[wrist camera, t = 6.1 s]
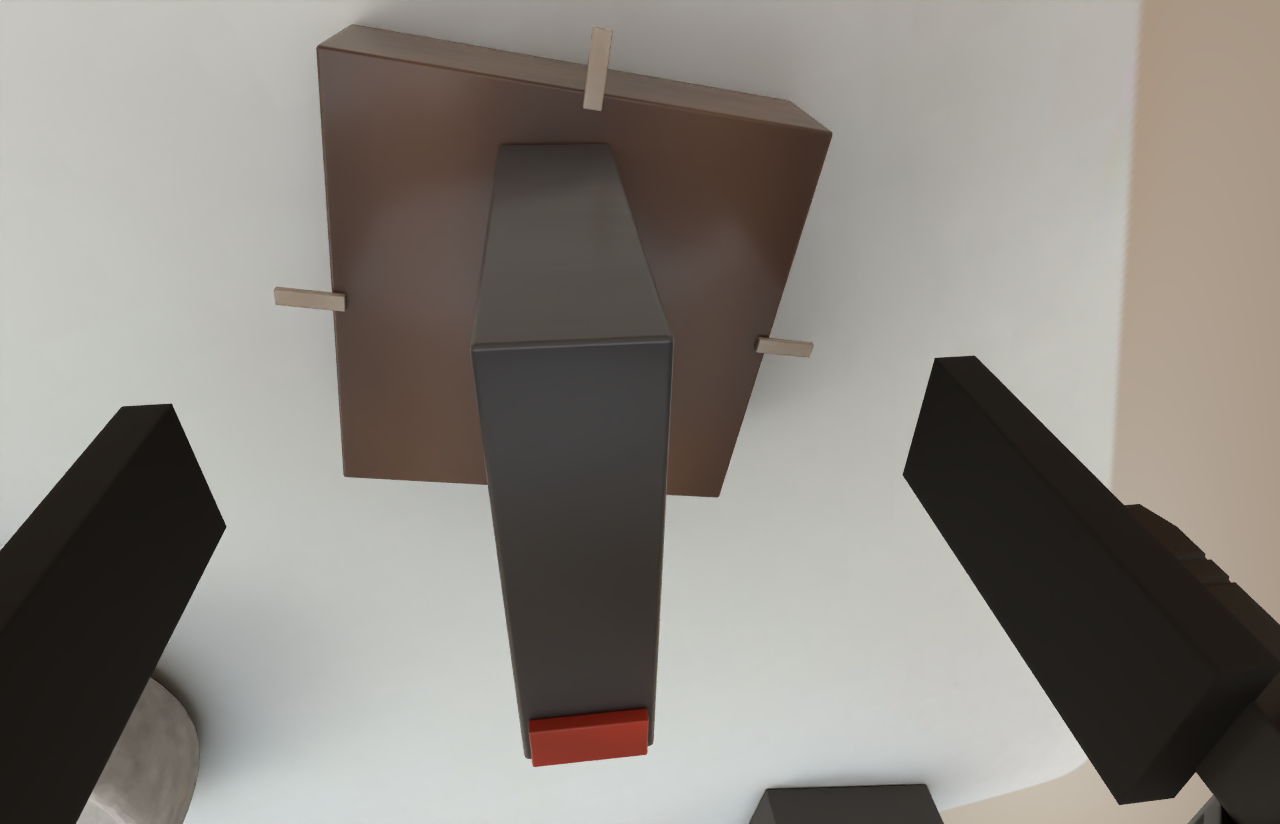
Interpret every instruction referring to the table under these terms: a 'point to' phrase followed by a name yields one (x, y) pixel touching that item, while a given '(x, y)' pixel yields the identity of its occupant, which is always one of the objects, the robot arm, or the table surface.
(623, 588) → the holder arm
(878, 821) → the button block
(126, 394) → the table surface
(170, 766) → the dish
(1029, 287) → the table surface
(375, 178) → the stand
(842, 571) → the table surface
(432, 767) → the table surface
